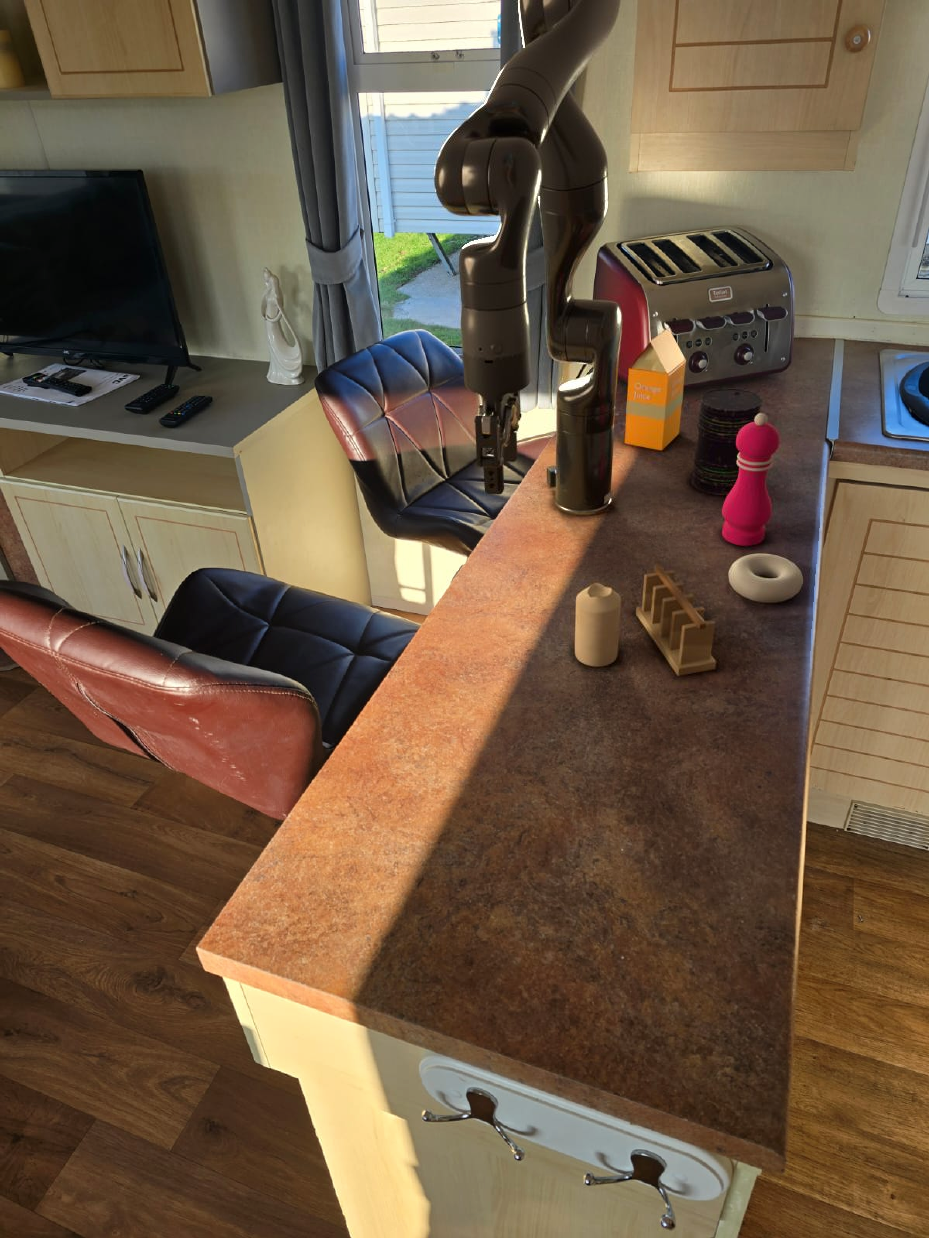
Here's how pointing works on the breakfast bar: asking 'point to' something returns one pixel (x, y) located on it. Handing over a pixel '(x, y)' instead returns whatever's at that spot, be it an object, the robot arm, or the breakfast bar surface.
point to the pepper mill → (751, 484)
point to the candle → (597, 625)
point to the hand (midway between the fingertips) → (501, 476)
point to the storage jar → (721, 437)
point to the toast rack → (676, 623)
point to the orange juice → (655, 394)
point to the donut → (754, 587)
